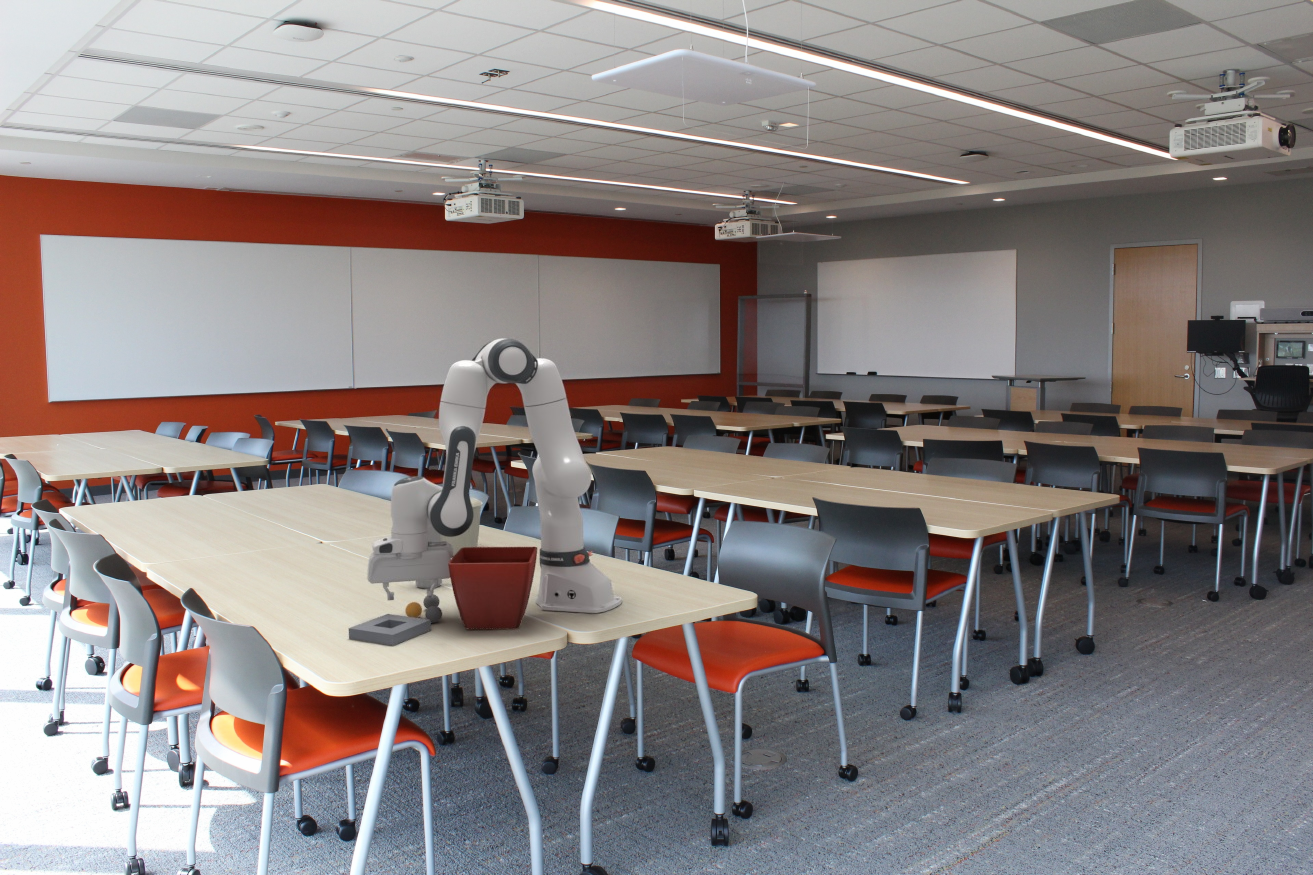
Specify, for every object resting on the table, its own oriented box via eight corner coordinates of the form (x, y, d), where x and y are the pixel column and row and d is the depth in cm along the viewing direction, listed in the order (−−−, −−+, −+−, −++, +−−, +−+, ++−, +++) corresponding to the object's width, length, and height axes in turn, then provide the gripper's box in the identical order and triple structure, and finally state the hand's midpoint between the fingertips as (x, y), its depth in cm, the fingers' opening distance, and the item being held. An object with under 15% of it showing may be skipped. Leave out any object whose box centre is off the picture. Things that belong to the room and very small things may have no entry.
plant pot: (539, 611, 238) (537, 545, 236) (532, 633, 219) (530, 562, 217) (463, 612, 237) (461, 546, 236) (449, 635, 218) (446, 563, 217)
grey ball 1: (443, 608, 241) (442, 593, 241) (432, 612, 237) (432, 596, 237) (430, 606, 243) (430, 591, 242) (420, 610, 239) (419, 595, 239)
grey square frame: (430, 630, 222) (430, 619, 222) (393, 645, 210) (392, 634, 210) (388, 623, 228) (387, 613, 227) (349, 638, 216) (348, 628, 216)
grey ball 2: (445, 621, 229) (445, 605, 229) (435, 625, 226) (434, 609, 225) (432, 619, 231) (432, 603, 231) (422, 623, 228) (421, 607, 227)
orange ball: (425, 616, 233) (425, 601, 233) (415, 621, 230) (414, 605, 229) (413, 615, 235) (412, 599, 235) (402, 619, 231) (401, 603, 231)
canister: (489, 556, 303) (487, 491, 301) (432, 561, 296) (430, 495, 294) (478, 545, 320) (476, 484, 318) (424, 550, 313) (422, 487, 311)
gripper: (451, 538, 237) (451, 592, 238) (366, 542, 230) (367, 598, 231) (454, 542, 231) (455, 598, 232) (367, 547, 224) (368, 604, 225)
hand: (410, 598), depth 232 cm, fingers open, 8 cm apart
